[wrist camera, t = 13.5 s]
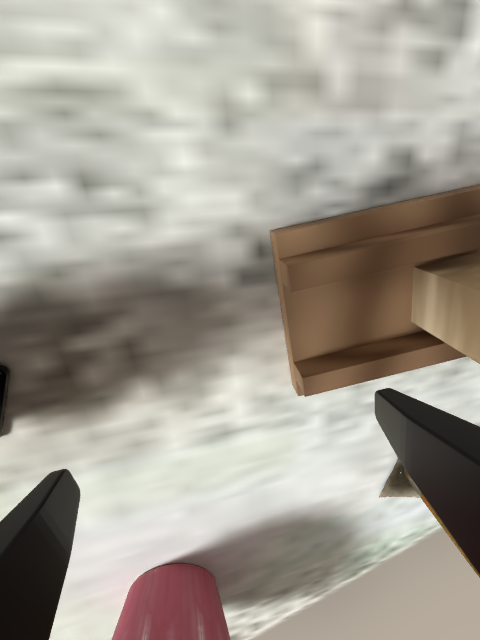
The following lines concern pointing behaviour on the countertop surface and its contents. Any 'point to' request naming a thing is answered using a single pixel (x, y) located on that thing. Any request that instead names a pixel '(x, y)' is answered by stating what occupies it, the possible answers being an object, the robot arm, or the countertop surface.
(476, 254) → the tan wooden block
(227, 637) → the plant pot
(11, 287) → the countertop surface
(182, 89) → the countertop surface
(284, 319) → the groove sill
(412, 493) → the condiment
